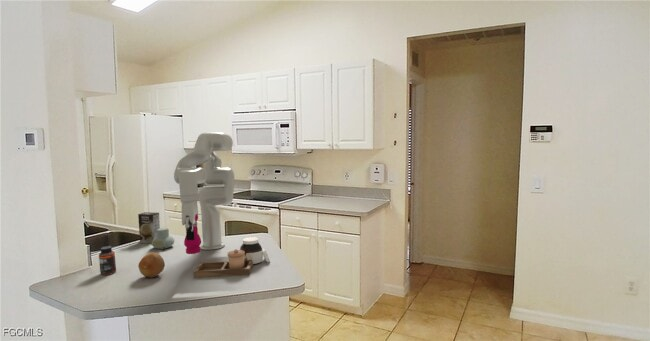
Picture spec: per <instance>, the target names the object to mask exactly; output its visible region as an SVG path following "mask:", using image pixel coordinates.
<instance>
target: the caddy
mask: <svg viewBox="0 0 650 341" xmlns="http://www.w3.org/2000/svg"><path fill="white" fill-rule="evenodd" d="M244 263H245V268H239V269H229V260H228V261H226V260H225V261H208V262H205V261H204V262H200V263H199V264H198V265H197V267H195V269H194V271H193V278H194V279H198V278H217V277H234V276H235V277H237V276H250V275H251V271H252V268H253V266H254V265H253V263H252V260H244Z"/></svg>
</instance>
